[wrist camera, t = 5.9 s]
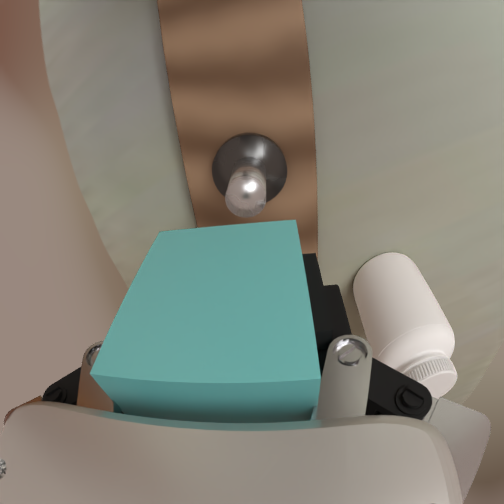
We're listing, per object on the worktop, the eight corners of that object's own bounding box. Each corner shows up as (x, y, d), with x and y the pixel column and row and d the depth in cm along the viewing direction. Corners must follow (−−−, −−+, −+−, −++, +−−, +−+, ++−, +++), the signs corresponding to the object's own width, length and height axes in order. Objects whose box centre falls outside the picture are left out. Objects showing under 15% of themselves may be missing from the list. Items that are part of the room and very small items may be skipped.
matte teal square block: (159, 231, 11) (89, 373, 6) (295, 219, 11) (320, 378, 6) (190, 324, 14) (162, 451, 9) (298, 319, 14) (310, 455, 8)
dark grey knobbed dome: (208, 137, 23) (190, 160, 18) (283, 129, 23) (289, 149, 17) (219, 203, 27) (208, 243, 21) (288, 197, 26) (295, 236, 21)
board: (159, -9, 17) (155, -12, 16) (295, -29, 16) (296, -32, 15) (214, 285, 33) (212, 291, 32) (315, 278, 32) (317, 284, 31)
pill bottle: (417, 243, 29) (483, 351, 17) (412, 297, 33) (455, 400, 21) (349, 256, 30) (390, 380, 18) (352, 310, 35) (379, 423, 22)
